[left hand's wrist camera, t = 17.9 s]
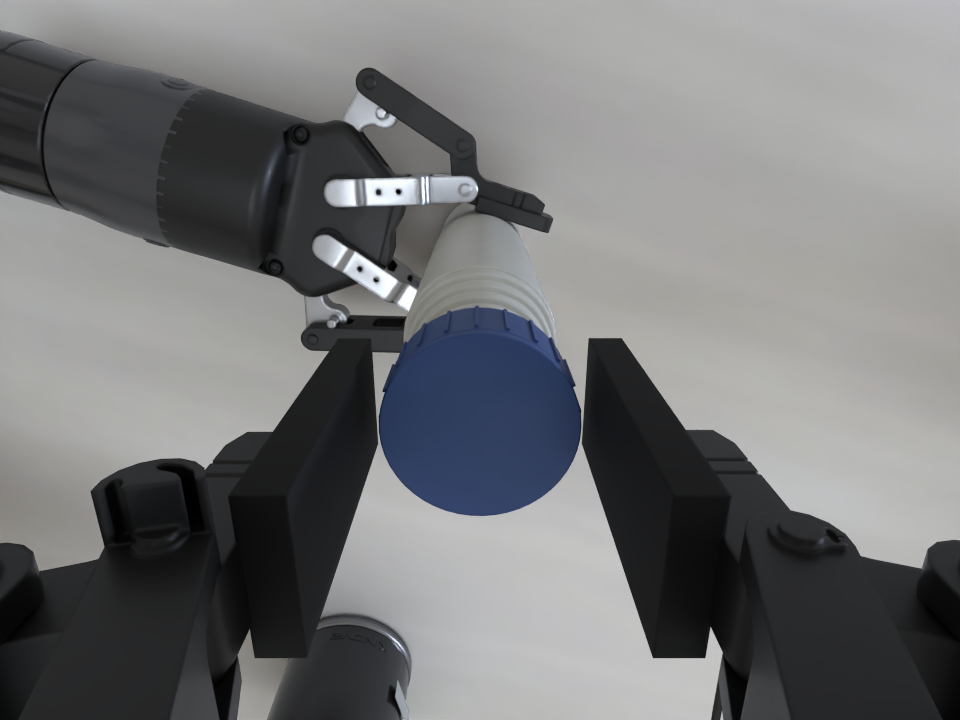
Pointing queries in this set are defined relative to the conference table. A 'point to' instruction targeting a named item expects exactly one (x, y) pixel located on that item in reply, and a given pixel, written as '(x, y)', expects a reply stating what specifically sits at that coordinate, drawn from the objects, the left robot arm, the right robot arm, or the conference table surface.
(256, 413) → the conference table surface
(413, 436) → the cap
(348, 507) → the left robot arm
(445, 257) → the bottle
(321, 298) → the right robot arm
